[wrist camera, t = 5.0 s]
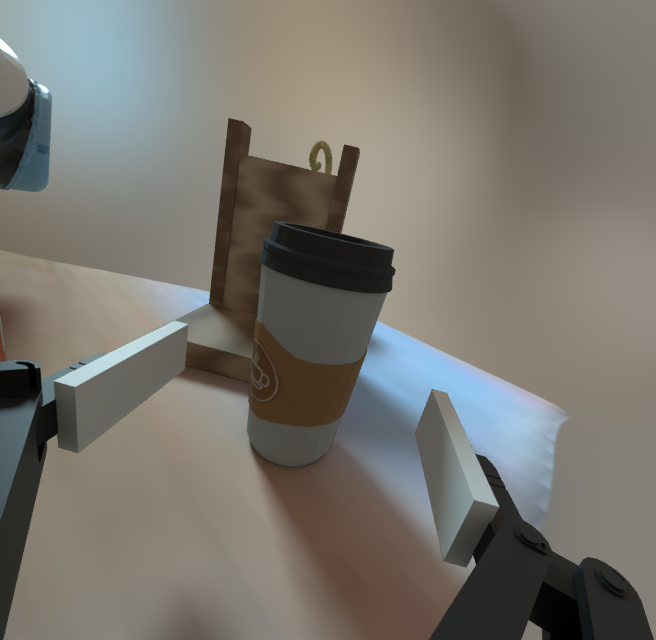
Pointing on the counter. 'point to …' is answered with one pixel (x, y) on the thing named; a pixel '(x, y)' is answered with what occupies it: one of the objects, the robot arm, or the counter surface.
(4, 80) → the robot arm
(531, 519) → the counter surface
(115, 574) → the counter surface
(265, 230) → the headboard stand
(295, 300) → the coffee cup
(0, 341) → the cracker box
